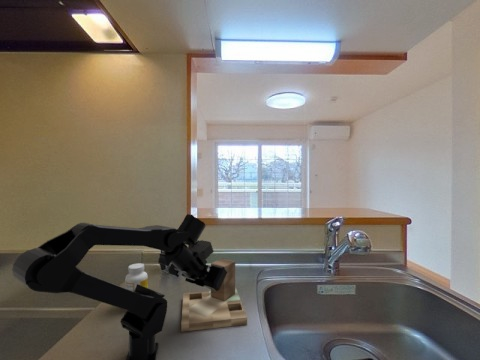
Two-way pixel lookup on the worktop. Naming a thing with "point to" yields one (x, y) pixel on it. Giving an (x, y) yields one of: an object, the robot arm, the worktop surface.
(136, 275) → the supplement bottle
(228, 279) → the walnut box
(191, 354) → the worktop surface
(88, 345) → the worktop surface
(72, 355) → the worktop surface
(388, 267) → the worktop surface
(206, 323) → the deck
